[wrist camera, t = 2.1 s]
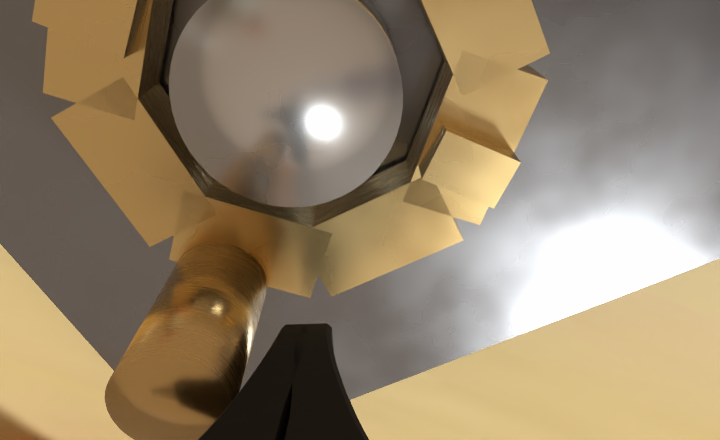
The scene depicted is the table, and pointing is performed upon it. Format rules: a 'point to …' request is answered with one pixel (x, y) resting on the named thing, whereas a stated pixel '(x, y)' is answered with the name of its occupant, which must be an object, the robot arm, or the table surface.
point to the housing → (382, 151)
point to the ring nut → (262, 221)
